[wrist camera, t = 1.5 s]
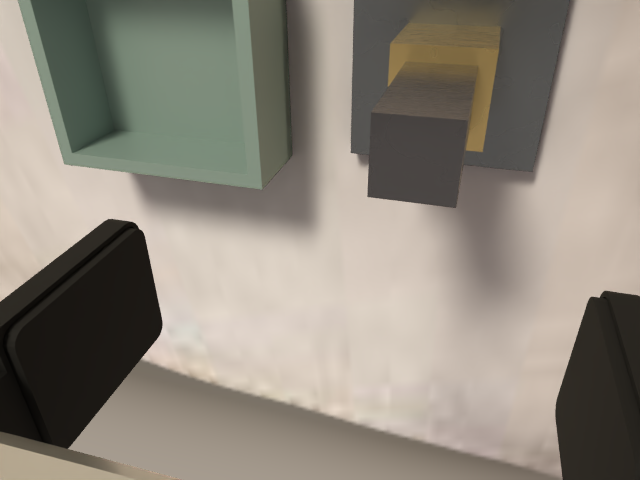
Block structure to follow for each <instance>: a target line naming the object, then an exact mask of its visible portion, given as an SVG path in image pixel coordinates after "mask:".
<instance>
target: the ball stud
mask: <svg viewBox="0 0 640 480" xmlns="http://www.w3.org/2000/svg"><path fill="white" fill-rule="evenodd" d="M569 2H570V0H354V27H353V74H352V120H351V153H356V154H366V155H369V149H370V125H371V112H372V110H373V109H374V107H375V106H376V104H377V103H378V101H379V100H380V98H381V97H382V95H383V94H384V92H385V91H386V90H387V88H388V74H389V57H390V43H391V42H392V41H393V40H394V39H395V38H396V36H397V35H398V34H399V33H400V32H401V31H402V30H403V29H404V27H405V26H406V25H407V24H408V23H419V24H444V25H469V26H494V27H500V43H499V53H498V59H497V65H496V72H495V78H494V84H493V90H492V97H491V103H490V109H489V115H488V121H487V128H486V134H485V140H484V146H483V152H477V151H467V150H466V153H465V159H464V164H463V165H471V166H481V167H490V168H500V169H509V170H519V171H529V172H533V167H534V162H535V158H536V153H537V149H538V144H539V139H540V135H541V130H542V126H543V121H544V116H545V112H546V107H547V103H548V98H549V93H550V89H551V84H552V80H553V75H554V71H555V66H556V61H557V57H558V52H559V48H560V43H561V38H562V34H563V29H564V25H565V20H566V15H567V11H568V6H569Z"/></svg>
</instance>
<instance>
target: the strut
mask: <svg viewBox="0 0 640 480" xmlns="http://www.w3.org/2000/svg"><path fill="white" fill-rule="evenodd" d="M499 43H500V27H494V26H469V25H444V24H419V23H408V24H407V25H406V26H405V27H404V29H403V30H402V31H401V32H400V33H399V34H398V35H397V36H396V38H395V39H394V40H393V41H392V42H391V43H390V57H389V74H388V88H387V90H386V91H385V92H384V94H383V95H382V97H381V98H380V100H379V101H378V103H377V104H376V106H375V107H374V109H373V110H372V112H371V125H370V149H369V173H368V197H372V198H380V199H389V200H397V201H405V202H413V203H421V204H429V205H437V206H445V207H453V208H456V204H457V199H458V193H459V187H460V182H461V176H462V170H463V164H464V159H465V153H466V150H467V151H477V152H483V146H484V140H485V134H486V128H487V121H488V115H489V109H490V103H491V97H492V90H493V84H494V78H495V72H496V65H497V59H498V53H499Z"/></svg>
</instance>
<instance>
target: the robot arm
mask: <svg viewBox="0 0 640 480" xmlns="http://www.w3.org/2000/svg"><path fill="white" fill-rule="evenodd" d="M161 330H162V317H161V312H160V307H159V303H158V298H157V293H156V288H155V283H154V279H153V274H152V269H151V264H150V259H149V255H148V250H147V245H146V240H145V236H144V233H143V232H142V230H140V229H139V228H138V226H137V225H136V224H135V223H133V222H129V221H122V220H115V219H108V220H106V221H104V222H103V223H102V224H101V225H99V226H98V227H97V228H95V229H94V230H93V231H91V232H90V233H89V234H88V235H86V236H85V237H84V238H82V239H81V240H80V241H79V242H77V243H76V244H75V245H73V246H72V247H71V248H69V249H68V250H67V251H66V252H64V253H63V254H62V255H60V256H59V257H58V258H56V259H55V260H54V261H53V262H51V263H50V264H49V265H47V266H46V267H45V268H44V269H42V270H41V271H40V272H38V273H37V274H36V275H34V276H33V277H32V278H31V279H29V280H28V281H27V282H25V283H24V284H23V285H22V286H20V287H19V288H18V289H16V290H15V291H14V292H12V293H11V294H10V295H9V296H7V297H6V298H5V299H3V300H2V301H1V302H0V480H181V479H178V478H174V477H170V476H167V475H163V474H159V473H155V472H152V471H148V470H145V469H141V468H137V467H133V466H129V465H126V464H122V463H118V462H114V461H111V460H107V459H103V458H100V457H95V456H92V455H88V454H84V453H80V452H77V451H73V450H69V449H68V448H69V447H70V446H71V444H72V443H73V442H74V441H75V440H76V438H77V437H78V436H79V435H80V434H81V432H82V431H83V430H84V429H85V427H86V426H87V425H88V424H89V422H90V421H91V420H92V418H93V417H94V416H95V414H97V412H98V411H99V410H100V409H101V408H102V406H103V405H104V404H105V403H106V401H107V400H108V399H109V398H110V396H111V395H112V394H113V393H114V391H115V390H116V389H117V388H118V387H119V385H120V384H121V383H122V382H123V380H124V379H125V378H126V377H127V375H128V374H129V373H130V372H131V370H132V369H133V368H134V367H135V365H136V364H137V363H138V362H139V361H140V359H141V358H142V357H143V356H144V354H145V353H146V352H147V351H148V349H149V348H150V347H151V346H152V344H153V343H154V342H155V341H156V340H157V338H158V337H159V335H160V333H161ZM555 415H556V425H557V434H558V442H559V451H560V459H561V468H562V476H563V480H640V296H638V295H631V294H624V293H617V292H610V291H604V292H603V293H602V294H601V296H600V298H597V297H590V299H589V301H588V303H587V306H586V309H585V313H584V316H583V319H582V322H581V325H580V328H579V331H578V335H577V338H576V341H575V344H574V347H573V350H572V353H571V356H570V360H569V363H568V366H567V369H566V372H565V375H564V378H563V382H562V385H561V388H560V391H559V394H558V397H557V402H556V412H555Z"/></svg>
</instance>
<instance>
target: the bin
mask: <svg viewBox="0 0 640 480" xmlns="http://www.w3.org/2000/svg"><path fill="white" fill-rule="evenodd" d="M18 3H19V6H20V10H21V13H22V17H23V20H24V24H25V27H26V31H27V34H28V38H29V41H30V45H31V49H32V52H33V56H34V59H35V63H36V66H37V70H38V73H39V77H40V80H41V84H42V87H43V91H44V94H45V98H46V101H47V105H48V108H49V112H50V115H51V119H52V122H53V126H54V129H55V133H56V136H57V140H58V144H59V147H60V151H61V154H62V158H63V161H64V164H66V165H74V166H82V167H89V168H97V169H105V170H113V171H121V172H128V173H136V174H144V175H152V176H160V177H168V178H175V179H183V180H191V181H199V182H207V183H215V184H222V185H230V186H238V187H246V188H254V189H261V190H262V189H263V188H264V187H265V186H266V185H267V184H268V182H269V181H270V180H271V179H272V178H273V177H274V176H275V175H276V173H277V172H278V171H279V170H280V169H281V168H282V167H283V165H284V164H285V163H286V162H287V161H288V160H289V159H290V158H291V156H292V136H291V112H290V87H289V62H288V37H287V13H286V0H18Z"/></svg>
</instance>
